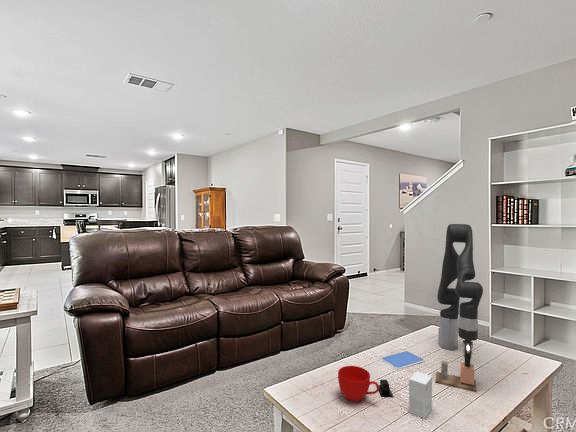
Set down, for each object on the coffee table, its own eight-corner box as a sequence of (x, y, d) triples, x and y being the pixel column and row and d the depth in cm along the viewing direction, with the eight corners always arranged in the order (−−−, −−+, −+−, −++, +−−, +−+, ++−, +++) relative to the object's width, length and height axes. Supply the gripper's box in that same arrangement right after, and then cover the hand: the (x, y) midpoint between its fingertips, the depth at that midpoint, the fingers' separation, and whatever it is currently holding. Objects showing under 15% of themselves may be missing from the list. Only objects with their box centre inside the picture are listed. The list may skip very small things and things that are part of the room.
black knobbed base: (372, 384, 146) (372, 374, 146) (389, 384, 146) (389, 374, 146) (379, 400, 133) (380, 389, 133) (397, 401, 133) (398, 390, 133)
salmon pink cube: (460, 381, 143) (460, 367, 143) (460, 376, 148) (460, 362, 148) (474, 384, 141) (474, 369, 141) (473, 379, 146) (473, 364, 145)
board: (435, 382, 146) (435, 365, 146) (436, 373, 154) (436, 357, 154) (476, 392, 139) (476, 373, 139) (475, 382, 147) (475, 364, 147)
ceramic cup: (373, 414, 124) (374, 388, 124) (332, 400, 133) (332, 375, 133) (383, 397, 135) (383, 373, 135) (344, 385, 144) (345, 362, 144)
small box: (415, 402, 131) (416, 370, 131) (432, 408, 127) (432, 375, 127) (408, 412, 125) (408, 378, 125) (425, 419, 121) (426, 384, 121)
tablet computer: (397, 371, 158) (397, 368, 158) (379, 360, 169) (379, 357, 169) (425, 362, 167) (425, 360, 167) (406, 352, 178) (406, 350, 178)
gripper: (458, 321, 151) (457, 358, 152) (458, 330, 140) (457, 370, 140) (477, 323, 148) (476, 361, 148) (478, 333, 136) (478, 374, 137)
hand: (467, 365), depth 144 cm, fingers closed
